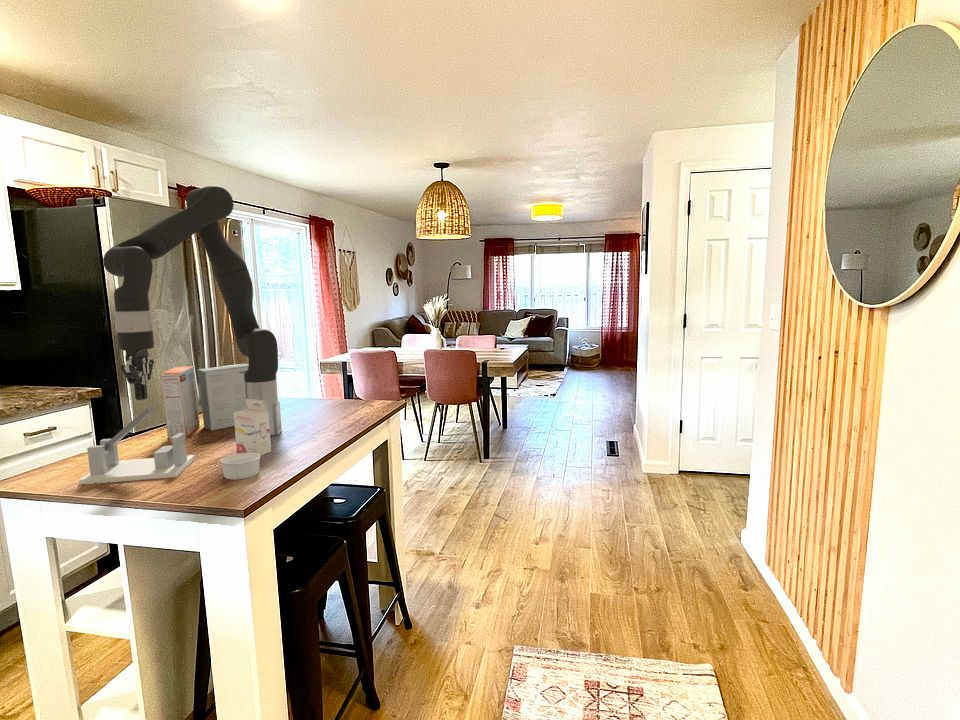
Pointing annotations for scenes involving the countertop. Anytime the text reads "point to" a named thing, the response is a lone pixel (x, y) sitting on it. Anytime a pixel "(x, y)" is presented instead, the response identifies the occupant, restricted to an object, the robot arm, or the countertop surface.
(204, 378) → the hard drive box
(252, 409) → the ink cartridge box
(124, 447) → the countertop surface
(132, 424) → the clamp lever
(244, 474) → the ramekin
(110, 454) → the base
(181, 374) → the cracker box
